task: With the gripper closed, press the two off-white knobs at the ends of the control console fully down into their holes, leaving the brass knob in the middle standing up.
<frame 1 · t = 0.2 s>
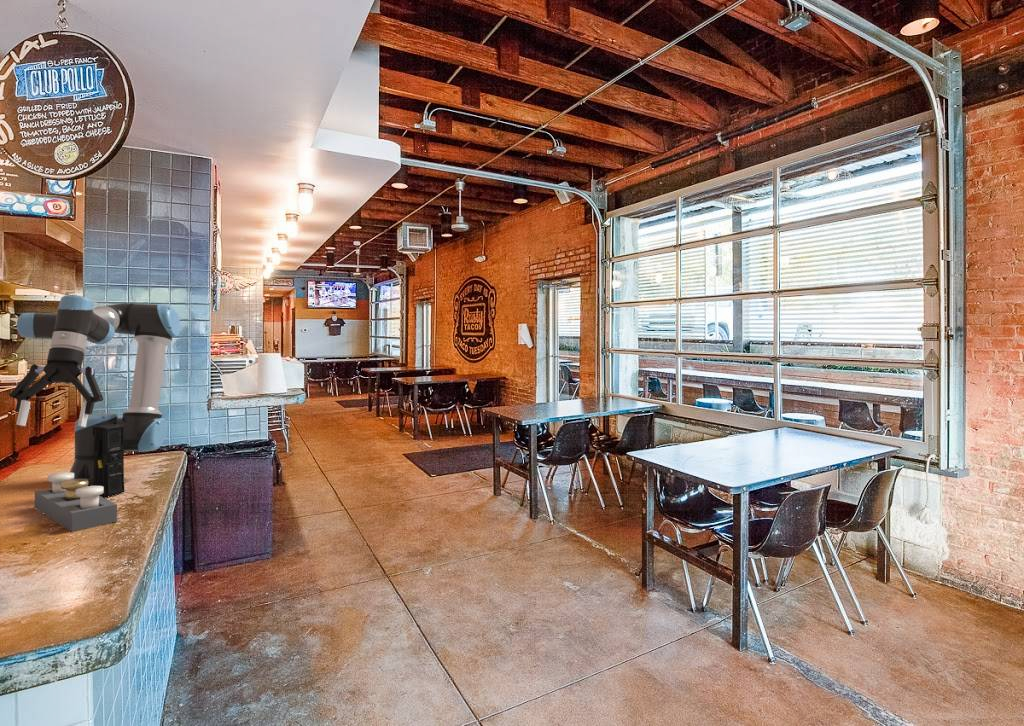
hand: (51, 426, 141), 27 cm above the countertop, tool tilted 15°, fingers open, 13 cm apart
console: (74, 514, 151), on the countertop
brass knob: (74, 492, 150), point 7 cm above the countertop, slide at 0.0 cm
portable radio: (107, 495, 170), on the countertop
knob far: (89, 499, 144), point 7 cm above the countertop, slide at 0.0 cm
knob near arm: (61, 485, 157), point 7 cm above the countertop, slide at 0.0 cm
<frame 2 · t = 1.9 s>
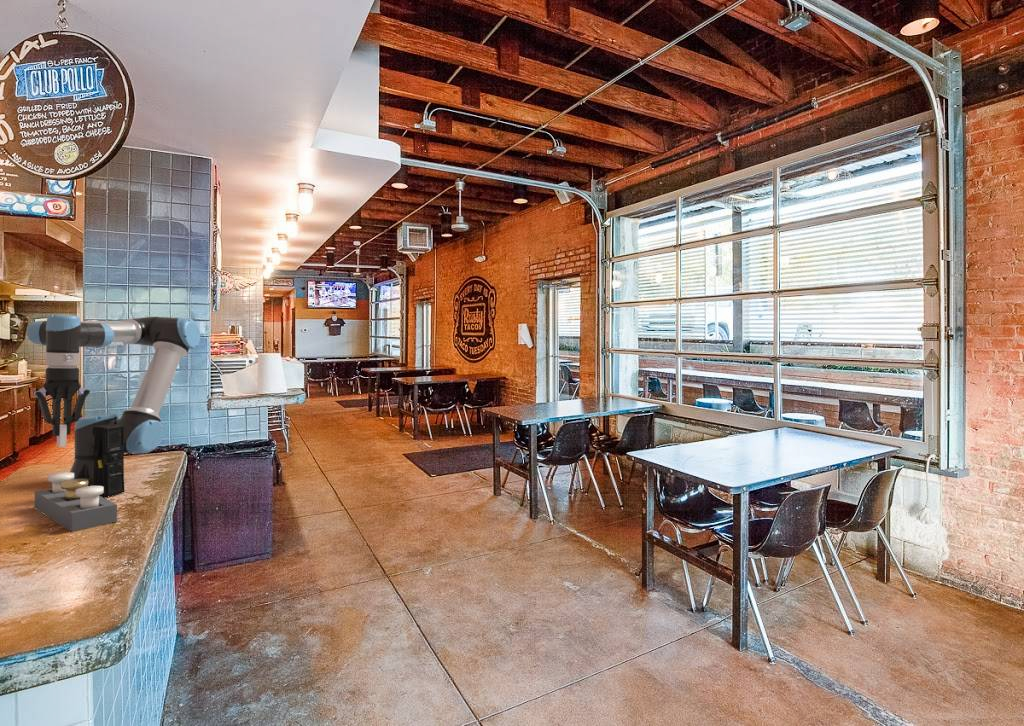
hand: (61, 446, 156), 18 cm above the countertop, tool pointing down, fingers closed
nothing on the countertop moved.
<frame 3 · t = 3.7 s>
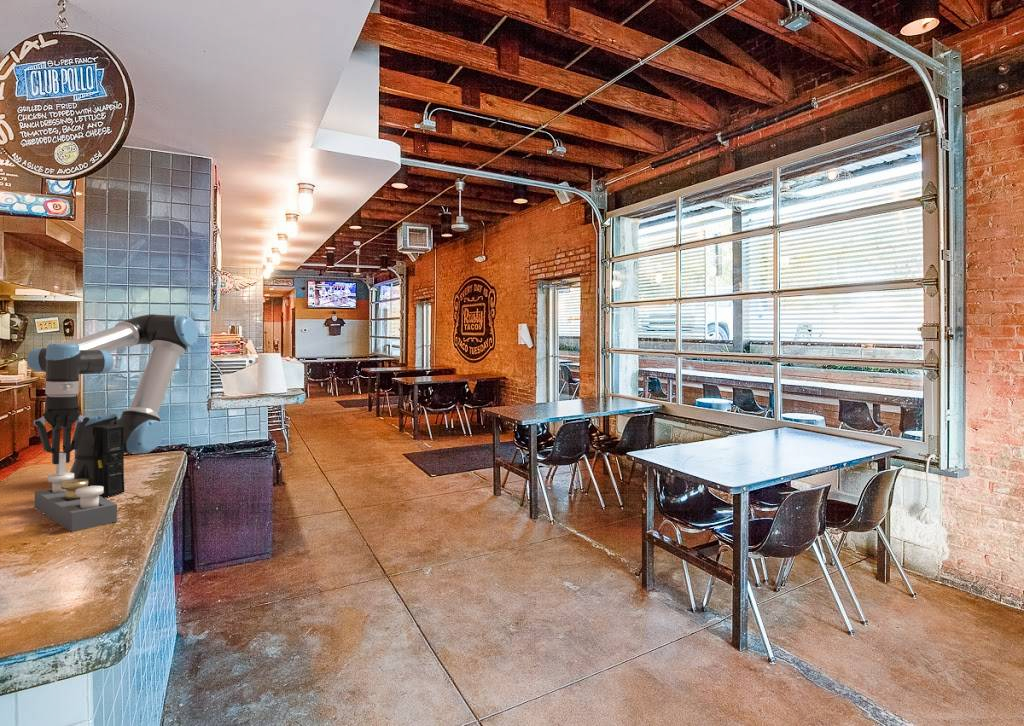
hand: (60, 474, 156), 10 cm above the countertop, tool pointing down, fingers closed
knob near arm: (61, 485, 157), point 7 cm above the countertop, slide at 0.1 cm, touching gripper
everything else where it was.
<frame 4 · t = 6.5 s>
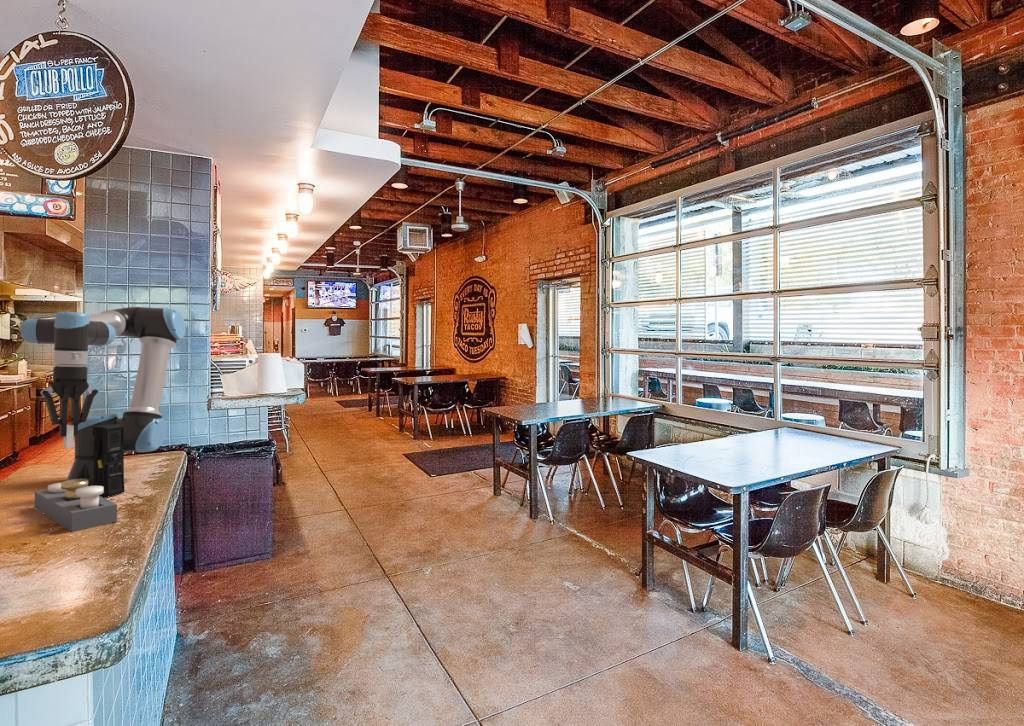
hand: (68, 447, 151), 19 cm above the countertop, tool pointing down, fingers closed
knob near arm: (60, 495, 157), point 4 cm above the countertop, slide at 3.0 cm
everything else where it was.
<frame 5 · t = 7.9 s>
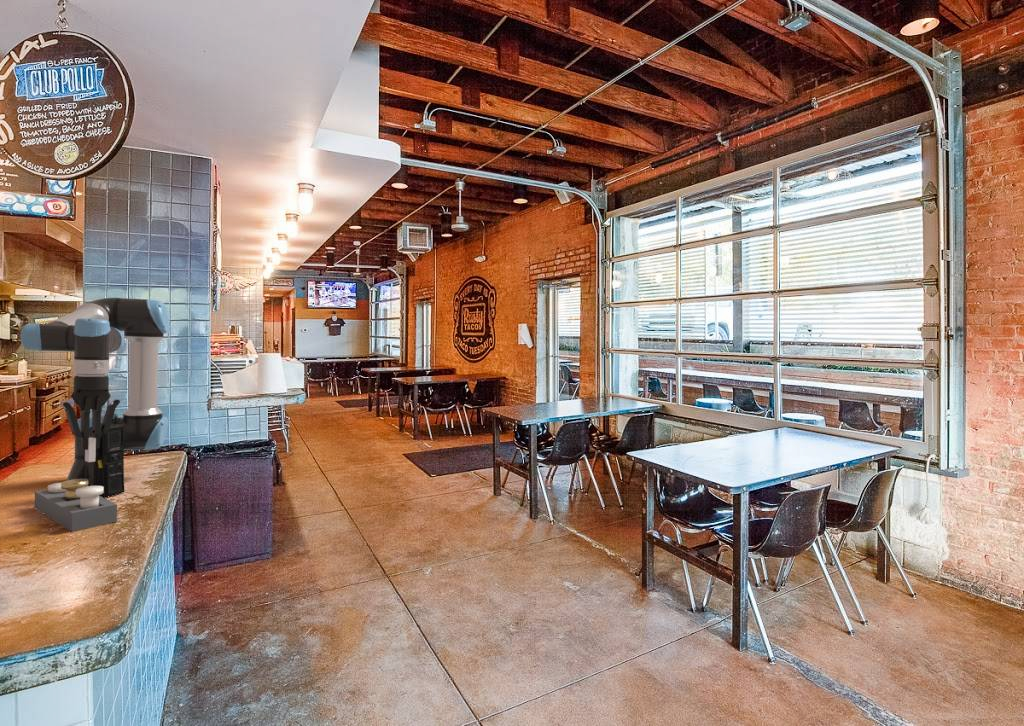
hand: (90, 460, 144), 17 cm above the countertop, tool pointing down, fingers closed
nothing on the countertop moved.
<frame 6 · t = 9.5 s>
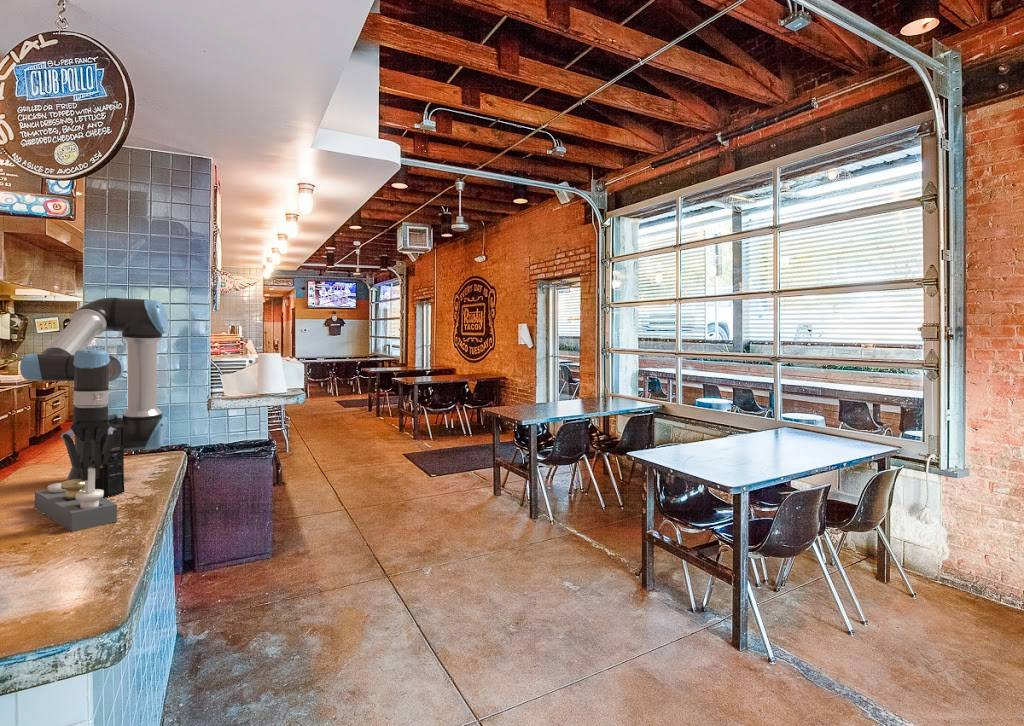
hand: (89, 491, 144), 9 cm above the countertop, tool pointing down, fingers closed
knob far: (89, 503, 144), point 6 cm above the countertop, slide at 1.0 cm, touching gripper
everything else where it was.
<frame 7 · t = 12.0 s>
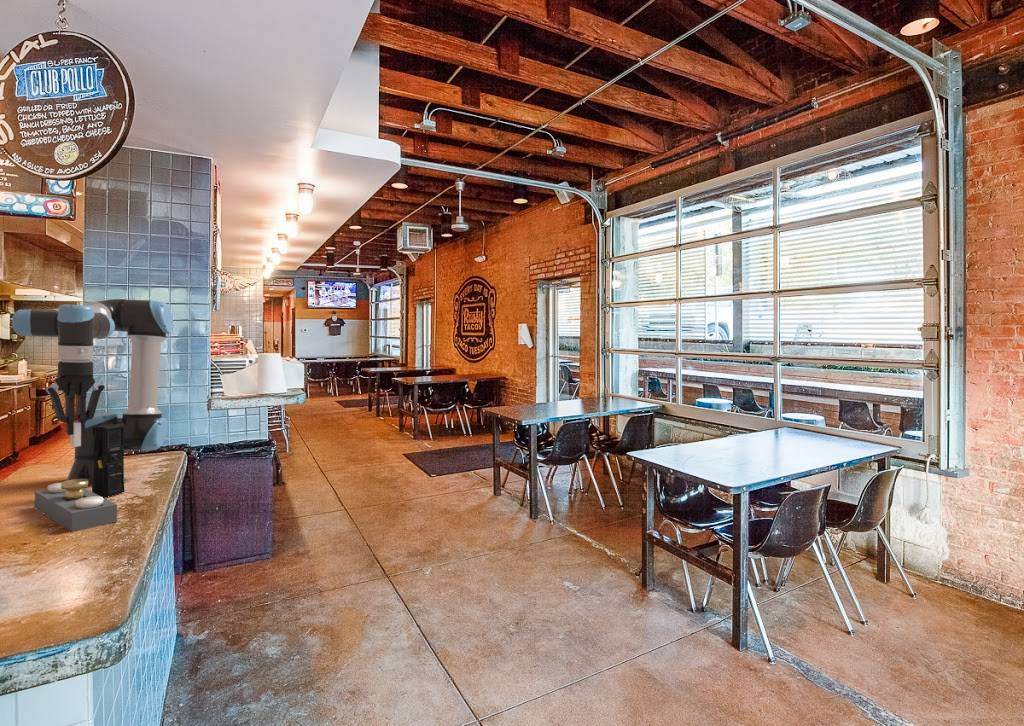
hand: (75, 445, 146), 21 cm above the countertop, tool pointing down, fingers closed
knob far: (89, 510, 145), point 4 cm above the countertop, slide at 3.0 cm
everything else where it was.
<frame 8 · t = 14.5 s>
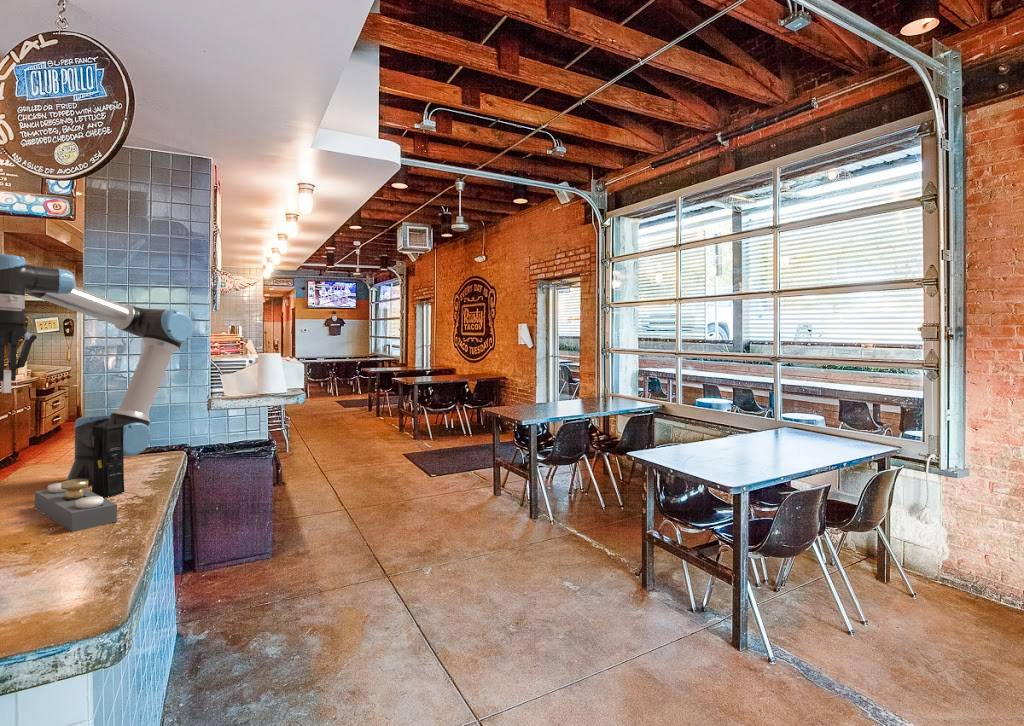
hand: (5, 392, 150), 34 cm above the countertop, tool pointing down, fingers closed
portable radio: (107, 495, 170), on the countertop, touching arm
everything else where it was.
at the end: knob near arm slide at 3.0 cm; knob far slide at 3.0 cm; brass knob slide at 0.0 cm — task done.
